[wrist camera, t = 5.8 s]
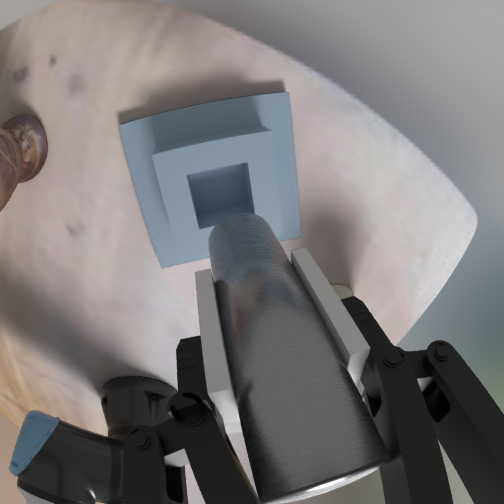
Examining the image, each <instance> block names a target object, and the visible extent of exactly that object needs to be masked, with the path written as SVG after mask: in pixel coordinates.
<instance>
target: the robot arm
mask: <svg viewBox="0 0 504 504" xmlns="http://www.w3.org/2000/svg"><path fill="white" fill-rule="evenodd" d="M291 262H292V266H293V268H294V270H295V272H296V273H297V275H298V277H299V279H300V281H301V282H302V284H303V286H304V288H305V290H306V292H307V293H308V295H309V297H310V299H311V301H312V303H313V305H314V306H315V308H316V310H317V312H318V314H319V316H320V318H321V320H322V321H323V323H324V325H325V327H326V329H327V331H328V333H329V335H330V337H331V338H332V340H333V342H334V344H335V346H336V348H337V350H338V352H339V354H340V356H341V358H342V360H343V362H344V363H345V365H346V367H347V369H348V371H349V373H350V375H351V377H352V379H353V381H354V383H355V385H356V387H359V384H360V381H361V382H362V384H363V386H364V388H365V389H364V391H363V394H362V399H363V401H364V400H365V404H366V407H367V409H368V411H369V413H370V415H371V417H372V419H373V421H374V423H375V425H376V427H377V429H378V431H379V434H380V436H381V438H382V440H383V442H384V444H385V446H386V448H387V450H388V452H389V454H390V457H391V459H390V460H389V461H388V462H387V463H386V464H384V465H383V466H381V467H380V473H381V479H382V485H383V490H384V496H385V503H386V504H453V500H452V495H451V490H450V486H449V481H448V477H447V473H446V469H445V465H444V461H443V457H442V453H441V450H440V446H439V443H438V440H439V442H440V444H441V445H442V447H443V449H444V450H445V452H446V454H447V455H448V457H449V459H450V460H451V462H452V464H453V466H454V468H455V469H456V471H457V473H458V475H459V476H460V478H461V480H462V482H463V483H464V486H465V487H466V489H467V491H468V493H469V495H470V497H471V498H472V500H473V502H474V504H504V414H503V413H502V411H501V410H500V408H499V407H498V406H497V404H496V403H495V402H494V400H493V398H492V397H491V396H490V394H489V393H488V391H487V390H486V389H485V387H484V386H483V385H482V383H481V382H480V381H479V379H478V378H477V377H476V375H475V374H474V373H473V371H472V370H471V369H470V367H469V366H468V365H467V364H466V362H465V361H464V360H463V359H462V357H461V356H460V355H459V354H458V352H457V351H456V350H455V349H454V347H453V346H452V345H451V344H449V343H448V342H445V341H441V340H437V341H434V342H432V343H431V344H430V345H429V346H428V348H427V350H420V351H411V352H410V351H404V350H403V349H401V348H400V347H396V346H394V345H393V344H392V343H391V342H390V340H389V339H388V337H387V336H386V334H385V333H384V331H383V330H382V329H381V327H380V326H379V324H378V323H377V321H376V320H375V319H374V317H373V315H372V314H371V313H370V312H369V310H368V308H367V307H366V305H365V304H364V303H363V302H362V301H361V300H359V299H358V298H356V297H355V296H351V297H348V298H344V299H341V300H340V299H339V297H338V296H337V294H336V292H335V291H334V289H333V288H332V286H331V285H330V283H329V282H328V280H327V279H326V277H325V276H324V274H323V273H322V271H321V270H320V268H319V267H318V265H317V264H316V262H315V261H314V259H313V258H312V256H311V255H310V253H309V252H308V250H307V249H306V247H303V248H299V249H295V250H291ZM195 279H196V291H197V303H198V314H199V324H200V334H201V335H200V336H195V337H190V338H185V339H181V340H180V342H179V344H178V347H177V349H176V358H177V380H178V392H177V391H176V390H175V389H174V388H172V387H171V386H169V385H167V384H165V383H163V382H160V381H157V380H153V379H149V378H143V377H121V378H116V379H113V380H110V381H108V382H107V383H106V384H105V385H104V386H103V387H102V392H101V405H102V409H103V413H104V416H105V420H106V424H107V427H108V437H106V436H104V435H100V434H97V433H94V432H91V431H88V430H86V429H83V428H80V427H77V426H75V425H72V424H69V423H67V422H65V421H62V420H60V418H59V417H53V416H50V415H48V414H45V413H43V412H40V411H37V410H33V411H30V412H29V413H28V414H27V415H26V417H25V420H24V422H23V425H22V427H21V430H20V433H19V436H18V439H17V442H16V445H15V448H14V452H13V456H12V459H11V463H10V466H9V470H10V472H11V473H12V474H13V475H14V476H18V483H17V487H18V489H19V491H20V492H21V493H22V495H23V496H24V497H25V499H26V504H95V502H100V503H105V504H188V497H187V487H186V477H185V465H186V464H188V463H190V465H191V468H192V471H193V473H194V476H195V478H196V481H197V484H198V486H199V489H200V491H201V494H202V496H203V498H204V501H205V503H206V504H260V501H259V498H258V496H257V495H256V493H255V491H254V489H253V487H252V485H251V483H250V481H249V479H248V477H247V475H246V473H245V471H244V469H243V467H242V465H241V463H240V461H239V459H238V457H237V454H236V452H235V450H234V448H233V446H232V444H231V442H230V440H229V437H228V436H227V434H226V431H225V426H224V423H225V425H227V424H233V423H238V422H240V418H239V413H238V409H237V404H236V402H237V401H236V397H235V392H234V387H233V382H232V377H231V372H230V367H229V362H228V357H227V352H226V346H225V341H224V336H223V330H222V324H221V319H220V313H219V307H218V302H217V296H216V290H215V284H214V280H213V276H212V272H211V269H206V270H202V271H197V272H195Z"/></svg>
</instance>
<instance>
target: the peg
mask: <svg viewBox="0 0 504 504" xmlns="http://www.w3.org/2000/svg"><path fill="white" fill-rule="evenodd" d="M208 247H209V254H210V261H211V267H212V274H213V280H214V284H215V290H216V296H217V302H218V307H219V313H220V319H221V324H222V330H223V336H224V341H225V346H226V352H227V357H228V362H229V367H230V372H231V377H232V382H233V387H234V392H235V397H236V401H237V402H236V404H237V409H238V413H239V418H240V423H241V427H242V432H243V436H244V440H245V445H246V449H247V453H248V458H249V462H250V466H251V470H252V474H253V478H254V482H255V486H256V490H257V494H258V498H259V501H260V504H281V503H287V502H292V501H296V500H301V499H304V498H309V497H312V496H315V495H319V494H322V493H325V492H328V491H331V490H333V489H336V488H339V487H341V486H344V485H346V484H349V483H351V482H353V481H355V480H358V479H360V478H362V477H364V476H365V475H368V474H369V473H371V472H373V471H375V470H377V469H378V468H380V467H381V466H383V465H384V464H386V463H387V462H388V461H389V460H390V459H391V457H390V454H389V452H388V450H387V448H386V446H385V444H384V442H383V440H382V438H381V436H380V434H379V431H378V429H377V427H376V425H375V423H374V421H373V419H372V417H371V415H370V413H369V411H368V409H367V407H366V405H365V403H364V401H363V399H362V397H361V395H360V393H359V391H358V389H357V387H356V385H355V383H354V381H353V379H352V377H351V375H350V373H349V371H348V369H347V367H346V365H345V363H344V362H343V360H342V358H341V356H340V354H339V352H338V350H337V348H336V346H335V344H334V342H333V340H332V338H331V337H330V335H329V333H328V331H327V329H326V327H325V325H324V323H323V321H322V320H321V318H320V316H319V314H318V312H317V310H316V308H315V306H314V305H313V303H312V301H311V299H310V297H309V295H308V293H307V292H306V290H305V288H304V286H303V284H302V282H301V281H300V279H299V277H298V275H297V273H296V272H295V270H294V268H293V266H292V264H291V262H290V261H289V259H288V257H287V255H286V253H285V252H284V250H283V248H282V246H281V245H280V243H279V241H278V239H277V237H276V236H275V234H274V232H273V230H272V229H271V227H270V225H269V224H268V222H267V221H266V220H265V219H263V218H262V217H260V216H258V215H256V214H252V213H246V212H244V213H235V214H232V215H229V216H227V217H225V218H223V219H222V220H221V221H219V222H218V223H217V224H216V226H215V227H214V228H213V230H212V231H211V234H210V236H209V241H208Z"/></svg>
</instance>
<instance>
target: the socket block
mask: <svg viewBox="0 0 504 504" xmlns="http://www.w3.org/2000/svg"><path fill="white" fill-rule="evenodd" d="M119 130H120V134H121V138H122V142H123V146H124V150H125V154H126V158H127V162H128V165H129V169H130V173H131V176H132V180H133V183H134V187H135V190H136V193H137V197H138V200H139V203H140V206H141V210H142V213H143V216H144V219H145V222H146V225H147V228H148V231H149V234H150V237H151V240H152V243H153V246H154V249H155V252H156V254H157V257H158V260H159V263H160V265H161V268H166V267H170V266H175V265H179V264H183V263H188V262H192V261H196V260H201V259H205V258H210V254H209V247H208V241H209V236H210V234H211V231H212V230H213V228H214V227H215V226H216V224H217V223H218V222H219V221H221V220H222V219H223V218H225V217H227V216H229V215H232V214H235V213H244V212H246V213H252V214H256V215H258V216H260V217H262V218H263V219H265V220H266V221H267V222H268V224H269V225H270V227H271V229H272V230H273V232H274V234H275V236H276V237H277V239H278V241H279V242H280V241H285V240H289V239H294V238H298V237H301V230H300V212H299V196H298V182H297V169H296V157H295V145H294V135H293V124H292V115H291V105H290V96H289V92H280V93H270V94H261V95H253V96H245V97H238V98H232V99H226V100H220V101H214V102H209V103H203V104H198V105H194V106H189V107H184V108H180V109H176V110H171V111H167V112H163V113H159V114H155V115H152V116H148V117H144V118H141V119H137V120H134V121H131V122H127V123H124V124H121V125H119Z"/></svg>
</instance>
